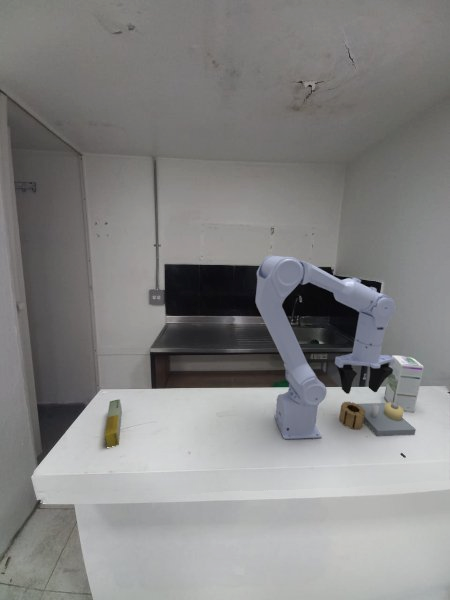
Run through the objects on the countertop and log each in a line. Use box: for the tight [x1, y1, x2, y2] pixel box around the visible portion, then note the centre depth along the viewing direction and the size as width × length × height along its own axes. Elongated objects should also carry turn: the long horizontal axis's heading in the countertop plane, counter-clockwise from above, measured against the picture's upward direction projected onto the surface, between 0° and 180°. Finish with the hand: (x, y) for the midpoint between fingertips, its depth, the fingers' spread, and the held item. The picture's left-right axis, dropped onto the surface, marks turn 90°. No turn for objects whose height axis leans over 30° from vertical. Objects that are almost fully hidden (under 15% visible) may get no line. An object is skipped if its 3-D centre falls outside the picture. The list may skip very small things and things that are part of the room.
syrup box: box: [383, 354, 425, 413], centre depth 67 cm, size 6×6×14 cm
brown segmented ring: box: [338, 401, 366, 430], centre depth 61 cm, size 5×5×4 cm
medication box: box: [104, 398, 123, 448], centre depth 57 cm, size 12×3×4 cm, turn 21°
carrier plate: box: [357, 401, 417, 437], centre depth 62 cm, size 10×10×5 cm
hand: (359, 390), depth 60 cm, fingers open, 7 cm apart
